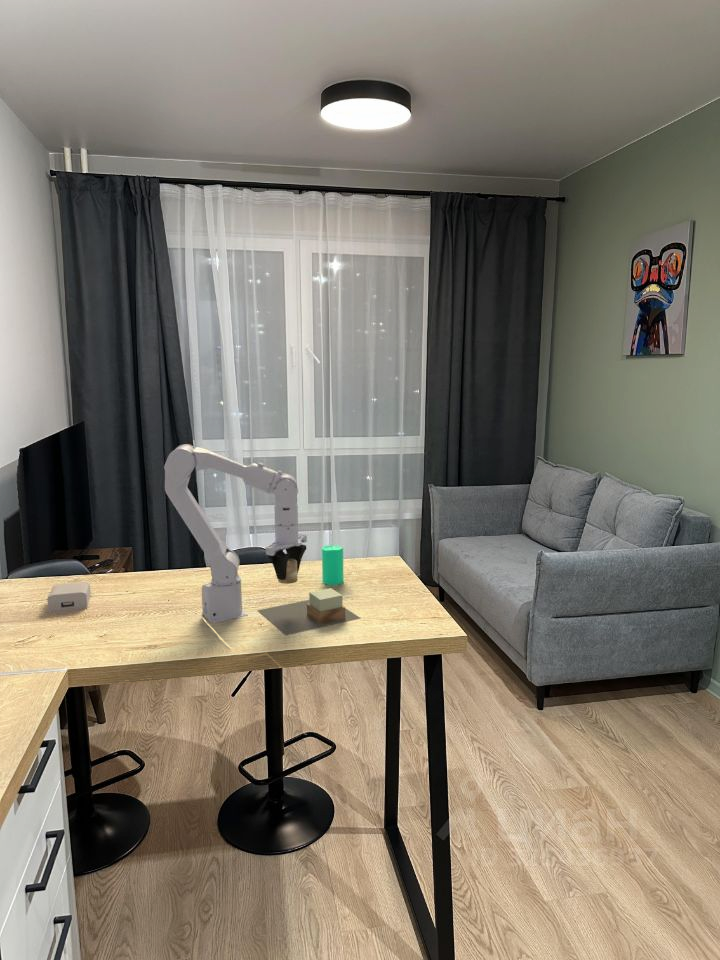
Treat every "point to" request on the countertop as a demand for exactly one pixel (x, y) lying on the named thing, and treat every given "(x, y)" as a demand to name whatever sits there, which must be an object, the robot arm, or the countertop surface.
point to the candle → (332, 565)
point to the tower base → (325, 614)
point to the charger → (69, 596)
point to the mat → (297, 618)
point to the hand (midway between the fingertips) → (287, 576)
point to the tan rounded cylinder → (290, 572)
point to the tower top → (325, 599)
